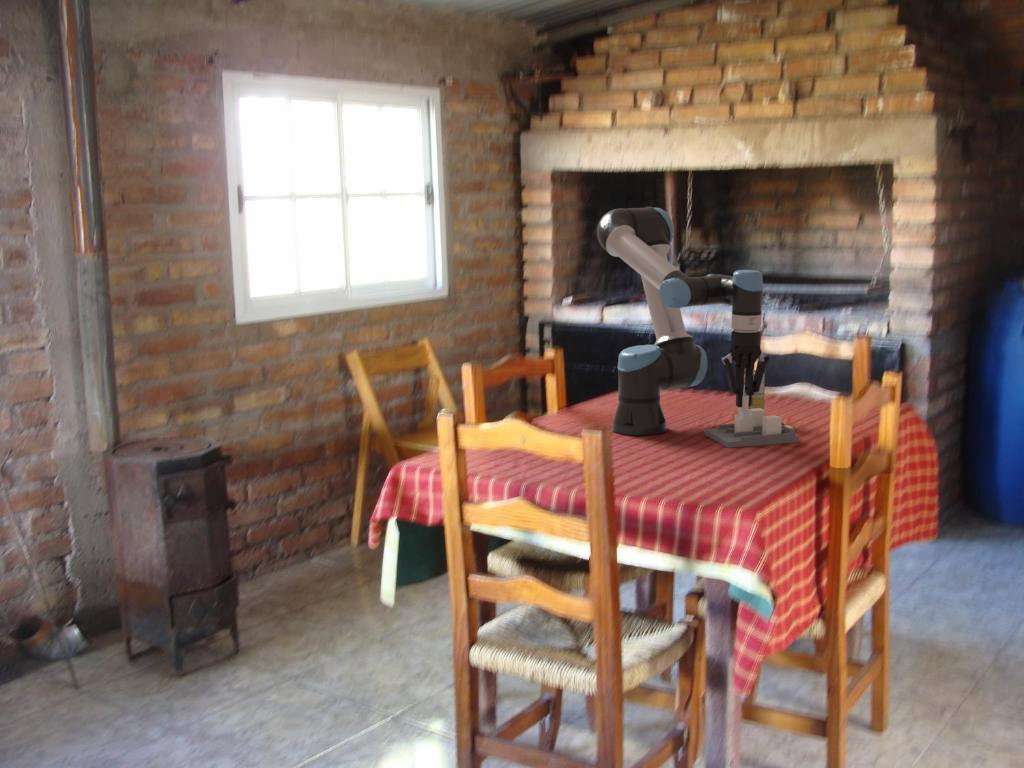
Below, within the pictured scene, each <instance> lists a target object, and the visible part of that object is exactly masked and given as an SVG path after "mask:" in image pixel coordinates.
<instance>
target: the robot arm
mask: <svg viewBox="0 0 1024 768" xmlns="http://www.w3.org/2000/svg"><path fill="white" fill-rule="evenodd" d="M596 228H597V229H596V235H597V236H596V237H597V240H598V243H599V245H600V246H601V247H602V248H603V249H604V250H605V252H606V253H608V254H609V255H610V256H612V257H616V258H617V257H618V258H620V259H621V260H622V261H623V262H624V263H626V265H628V266H629V267H630V268H631V269H632V270H634V271H635V272H636V273H637V274H639V275H640V277H641V281H642V285H643V290H644V294H645V297H646V302H647V306H648V310H649V314H650V319H651V322H652V326H653V331H654V335H655V339H656V341H655V343H654V344H644V345H634V346H629V347H626V348H624V349H623V350H621V351H620V353H619V354H618V358H617V359H618V362H617V370H618V371H617V376H618V377H617V379H618V383H617V385H618V386H617V387H618V388H617V389H618V391H617V392H618V402H617V406H616V410H615V411H614V412H615V413H614V416H613V419H612V423H611V424H612V425H611V426H612V429H611V430H612V431H613V432H615V433H617V434H622V435H629V436H652V435H657V434H662V433H665V432H666V431H667V420H666V417H665V414H664V410H663V408H662V404H661V391H668V390H675V389H676V390H678V389H687V388H689V387H695V386H697V385H699V384H700V383H702V382H703V380H704V378H705V376H706V373H707V371H708V357H707V353H706V351H705V350H704V349H703V348H702V346H701V345H697V344H696V343H695V341H694V338H693V335H690V333H688V332H687V331H686V327H685V323H684V320H683V315H682V311H681V309H682V308H687V307H688V308H689V307H695V306H696V307H697V306H698V307H699V306H708V305H722V304H723V305H728V306H731V308H732V310H731V329H732V331H731V332H730V335H731V337H730V346H731V347H730V349H729V352H728V354H727V355H726V356H721V357H720V361H721V363H722V365H724V371H725V376H726V380H727V385H728V391H729V392H731V393H733V394H735V406H736V407H737V408H738V407H739V416H738V418H740V419H741V420H748V407H751V404H752V403H751V402H752V395H754V393H755V392H759V389H760V385H761V381H762V378H763V374H764V373H765V370H766V366H767V364H768V362H769V361H770V356H768V355H766V354H764V353H763V352H762V351H763V350H762V349H761V338H762V332H761V331H760V330H761V329H762V316H763V315H762V314H763V313H762V311H763V290H764V283H763V281H764V280H763V279H764V278H763V273H762V272H761V271H760V270H754V269H737V270H735V271H734V272H733V275H732V276H731V275H725V274H722V273H710V274H709V273H708V274H707V275H704V276H692V277H690V276H688V275H687V274H685V273H684V272H682V271H681V270H680V269H679V268H677V267H676V266H675V265H673V264H672V263H671V262H670V261H669V259H668V253H669V251H670V249H671V244H672V241H674V240H673V239H674V233H675V227H674V223H673V220H672V218H671V216H670V215H669V213H668V212H667V211H666V210H665V209H662V208H661V207H652V206H645V207H629V208H627V207H626V208H614V209H612V210H610V211H608V212H606V213H605V214H604V215H603V216H602V217H601V218H600V220H599V222H598V224H597V227H596ZM732 362H734V364H735V369H736V371H735V373H734V368H733V365H732ZM756 362H757V365H756V366H755V363H756ZM755 367H756V369H755ZM744 370H745V394H743V393H744ZM753 370H756V371H755V375H754V379H753Z"/></svg>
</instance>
